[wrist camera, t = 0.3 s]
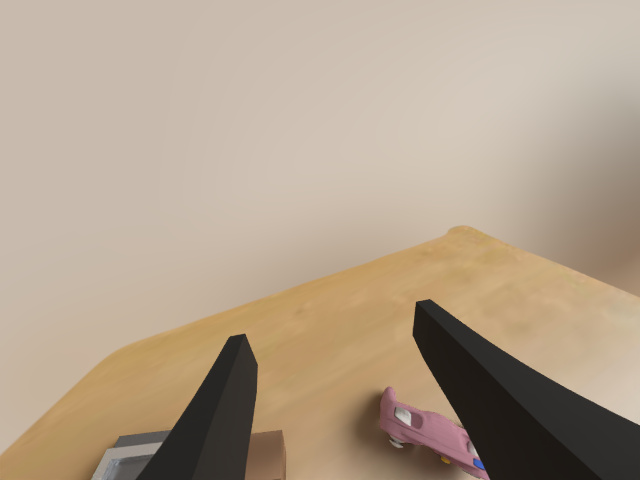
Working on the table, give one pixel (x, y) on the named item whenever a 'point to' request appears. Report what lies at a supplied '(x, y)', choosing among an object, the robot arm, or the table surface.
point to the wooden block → (266, 457)
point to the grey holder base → (129, 456)
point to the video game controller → (429, 433)
